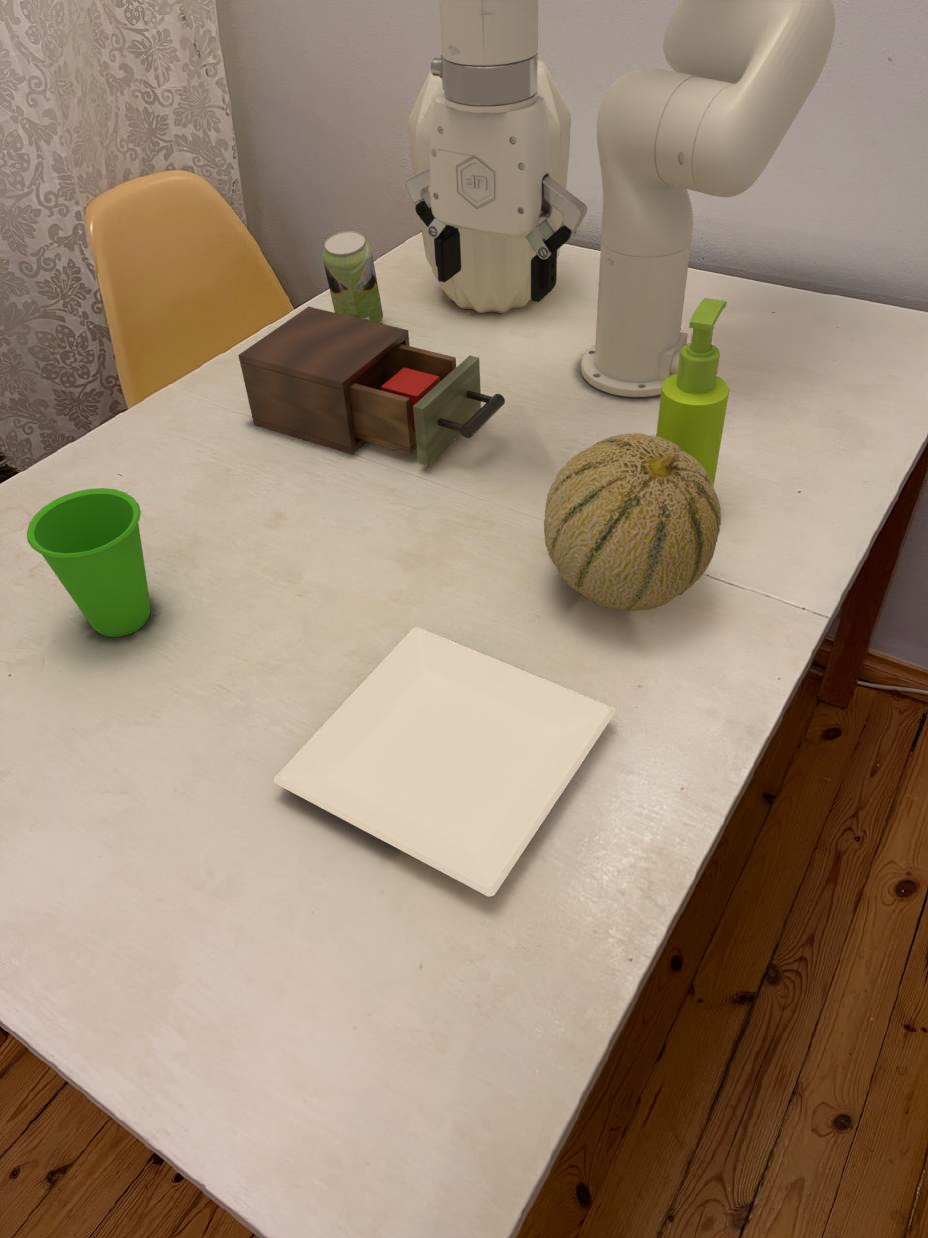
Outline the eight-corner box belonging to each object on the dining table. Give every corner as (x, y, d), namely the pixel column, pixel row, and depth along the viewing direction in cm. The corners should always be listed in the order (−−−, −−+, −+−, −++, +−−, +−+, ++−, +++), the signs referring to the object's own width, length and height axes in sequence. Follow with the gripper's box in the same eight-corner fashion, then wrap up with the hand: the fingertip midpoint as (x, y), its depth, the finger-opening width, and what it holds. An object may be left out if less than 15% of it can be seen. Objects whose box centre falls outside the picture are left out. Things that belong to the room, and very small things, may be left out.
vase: (518, 340, 120) (517, 99, 102) (392, 307, 129) (369, 78, 110) (591, 280, 132) (602, 54, 113) (471, 253, 140) (463, 38, 121)
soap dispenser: (719, 490, 96) (751, 298, 82) (700, 530, 92) (731, 334, 78) (661, 478, 98) (683, 288, 84) (641, 516, 94) (661, 323, 80)
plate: (492, 913, 64) (491, 896, 62) (275, 796, 71) (270, 779, 70) (615, 724, 75) (617, 706, 73) (416, 640, 82) (414, 623, 81)
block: (442, 413, 105) (439, 376, 102) (420, 433, 102) (417, 396, 99) (407, 403, 107) (403, 367, 104) (385, 423, 104) (380, 386, 101)
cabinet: (414, 399, 111) (408, 329, 105) (352, 454, 104) (342, 382, 98) (319, 373, 117) (308, 306, 111) (253, 424, 109) (237, 354, 103)
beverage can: (387, 315, 127) (377, 223, 119) (378, 342, 122) (367, 248, 113) (340, 315, 128) (327, 224, 119) (329, 342, 122) (315, 248, 114)
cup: (192, 594, 88) (160, 496, 80) (137, 663, 82) (97, 564, 74) (108, 576, 90) (70, 480, 83) (49, 642, 84) (1, 544, 77)
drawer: (515, 422, 105) (514, 365, 100) (463, 476, 98) (459, 418, 93) (387, 388, 112) (381, 333, 107) (329, 437, 105) (320, 380, 100)
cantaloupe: (554, 529, 93) (557, 390, 82) (710, 543, 90) (734, 402, 80) (530, 635, 82) (530, 492, 72) (706, 655, 80) (732, 509, 69)
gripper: (374, 81, 78) (394, 284, 90) (567, 105, 71) (561, 321, 83) (423, 57, 83) (436, 254, 95) (609, 77, 76) (598, 286, 88)
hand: (495, 285), depth 89 cm, fingers open, 9 cm apart
